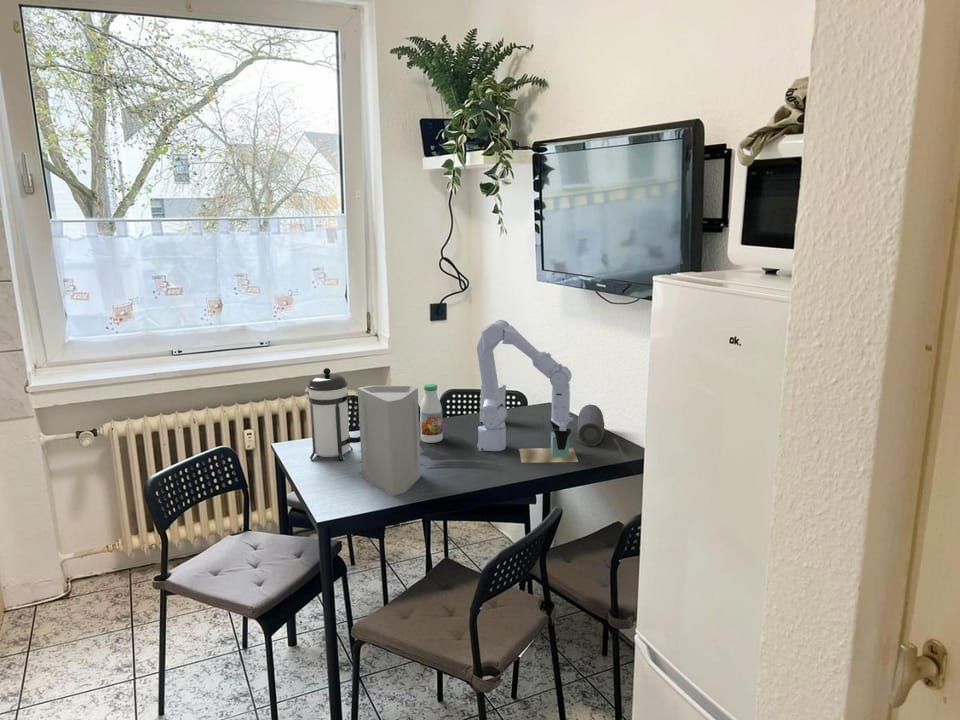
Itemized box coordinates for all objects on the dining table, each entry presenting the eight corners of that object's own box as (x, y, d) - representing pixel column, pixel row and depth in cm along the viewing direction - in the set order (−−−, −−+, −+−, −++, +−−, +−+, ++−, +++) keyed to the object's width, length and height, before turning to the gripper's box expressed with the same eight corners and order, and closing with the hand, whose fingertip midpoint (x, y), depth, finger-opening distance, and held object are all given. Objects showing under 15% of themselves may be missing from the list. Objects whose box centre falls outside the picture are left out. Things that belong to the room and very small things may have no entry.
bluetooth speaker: (604, 450, 236) (605, 421, 234) (576, 449, 237) (577, 420, 235) (603, 429, 258) (604, 403, 256) (577, 428, 259) (578, 402, 257)
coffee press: (319, 468, 223) (314, 376, 216) (302, 454, 236) (296, 366, 229) (370, 457, 232) (365, 368, 226) (350, 444, 245) (346, 360, 239)
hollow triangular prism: (435, 483, 209) (433, 393, 203) (391, 496, 201) (387, 401, 195) (403, 465, 224) (400, 380, 218) (361, 476, 216) (356, 388, 210)
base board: (521, 467, 222) (521, 462, 221) (519, 452, 234) (519, 448, 234) (578, 466, 222) (578, 461, 221) (572, 452, 234) (573, 448, 234)
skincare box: (479, 422, 267) (479, 384, 264) (486, 418, 273) (486, 381, 269) (499, 425, 264) (499, 387, 260) (506, 421, 269) (506, 383, 266)
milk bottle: (416, 439, 249) (414, 385, 245) (433, 434, 254) (432, 381, 250) (429, 444, 243) (428, 389, 239) (447, 439, 248) (446, 385, 244)
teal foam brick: (552, 456, 226) (552, 437, 225) (551, 451, 231) (551, 432, 230) (568, 456, 226) (569, 437, 225) (566, 451, 231) (567, 431, 230)
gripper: (576, 411, 218) (575, 452, 221) (570, 398, 232) (569, 437, 235) (553, 411, 218) (553, 453, 221) (548, 399, 232) (548, 438, 235)
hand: (560, 445), depth 228 cm, fingers open, 7 cm apart
